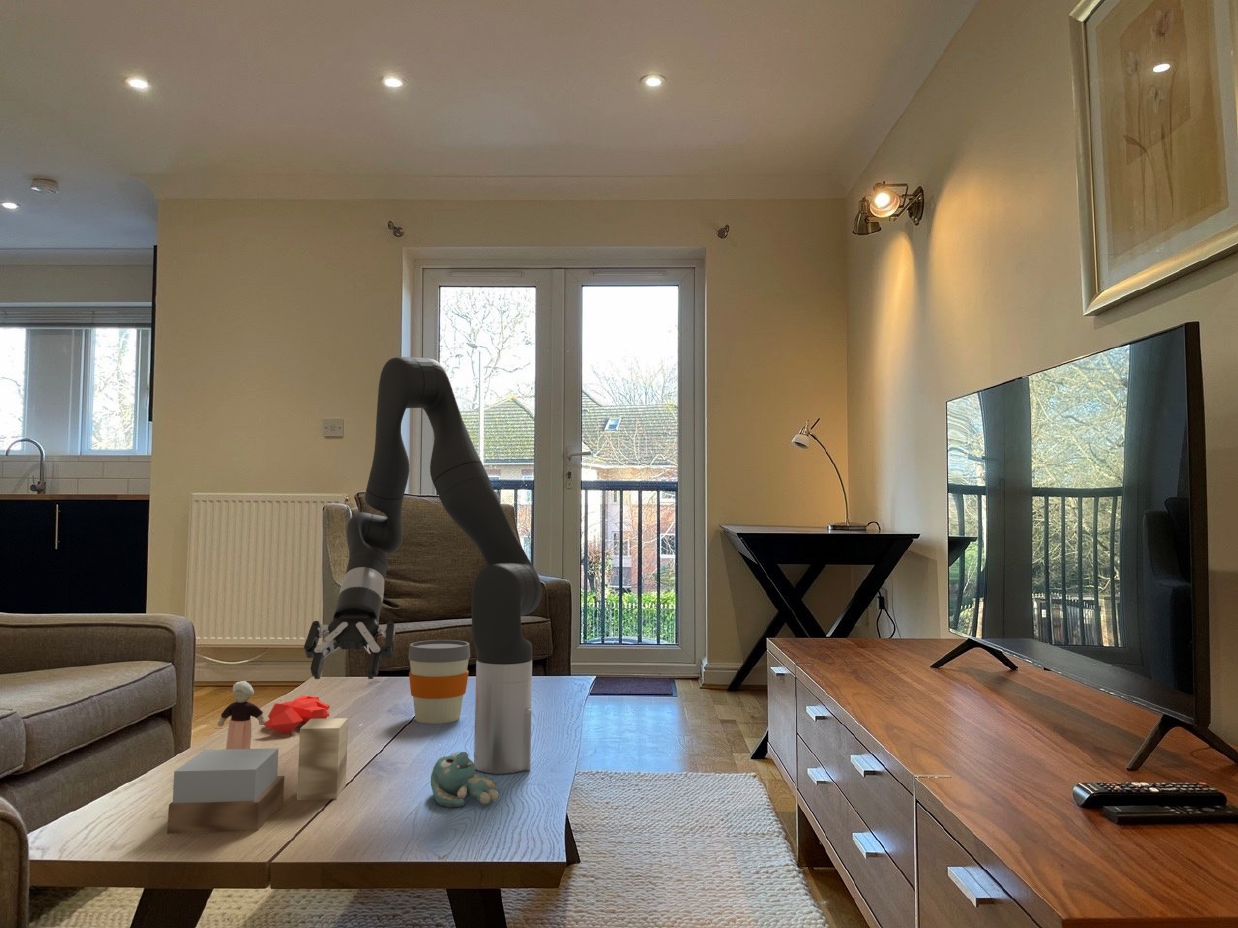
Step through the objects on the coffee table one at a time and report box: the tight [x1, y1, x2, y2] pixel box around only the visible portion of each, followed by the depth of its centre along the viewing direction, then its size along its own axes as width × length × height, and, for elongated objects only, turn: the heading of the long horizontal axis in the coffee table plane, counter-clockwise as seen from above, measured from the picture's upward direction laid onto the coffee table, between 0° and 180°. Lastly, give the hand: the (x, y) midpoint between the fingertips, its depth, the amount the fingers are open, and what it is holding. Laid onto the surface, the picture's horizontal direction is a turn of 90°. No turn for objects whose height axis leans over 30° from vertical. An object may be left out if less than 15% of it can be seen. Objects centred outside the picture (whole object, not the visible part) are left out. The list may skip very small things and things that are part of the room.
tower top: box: [172, 747, 279, 803], centre depth 108 cm, size 10×10×4 cm
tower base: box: [166, 775, 285, 835], centre depth 108 cm, size 11×11×4 cm
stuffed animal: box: [430, 751, 500, 808], centre depth 116 cm, size 11×7×12 cm
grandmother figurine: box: [217, 680, 266, 749], centre depth 135 cm, size 8×4×13 cm, turn 105°
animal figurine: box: [263, 694, 330, 734], centre depth 155 cm, size 12×15×5 cm
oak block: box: [296, 717, 349, 801], centre depth 118 cm, size 6×6×10 cm
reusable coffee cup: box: [407, 639, 471, 725], centre depth 164 cm, size 13×13×15 cm
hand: (343, 676), depth 131 cm, fingers open, 8 cm apart
